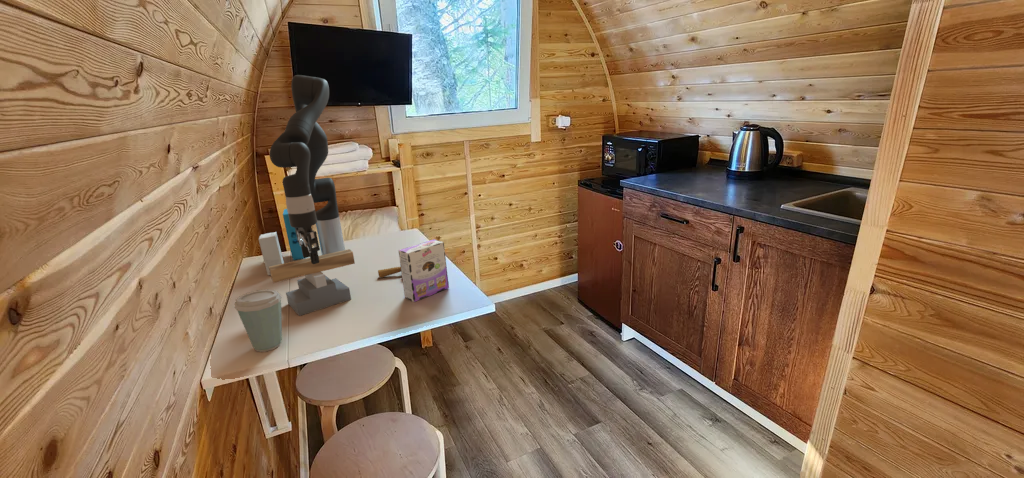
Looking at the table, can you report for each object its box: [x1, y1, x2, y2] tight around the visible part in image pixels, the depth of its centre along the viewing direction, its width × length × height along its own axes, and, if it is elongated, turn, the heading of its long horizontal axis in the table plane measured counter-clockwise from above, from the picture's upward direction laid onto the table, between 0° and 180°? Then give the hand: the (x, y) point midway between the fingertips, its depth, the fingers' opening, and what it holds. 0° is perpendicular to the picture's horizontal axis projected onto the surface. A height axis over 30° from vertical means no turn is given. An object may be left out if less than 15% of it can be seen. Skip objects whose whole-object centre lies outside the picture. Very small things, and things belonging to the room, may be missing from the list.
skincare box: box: [258, 231, 285, 276], centre depth 170 cm, size 8×6×15 cm
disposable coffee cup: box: [233, 289, 283, 353], centre depth 114 cm, size 11×11×15 cm
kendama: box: [377, 266, 402, 279], centre depth 160 cm, size 8×6×18 cm
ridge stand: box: [285, 271, 352, 317], centre depth 141 cm, size 12×16×10 cm
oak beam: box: [269, 248, 356, 284], centre depth 139 cm, size 4×24×4 cm, turn 125°
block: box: [282, 208, 305, 261], centre depth 185 cm, size 12×5×20 cm, turn 23°
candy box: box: [398, 239, 450, 303], centre depth 142 cm, size 14×6×16 cm, turn 134°
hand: (311, 260), depth 138 cm, fingers open, 8 cm apart
